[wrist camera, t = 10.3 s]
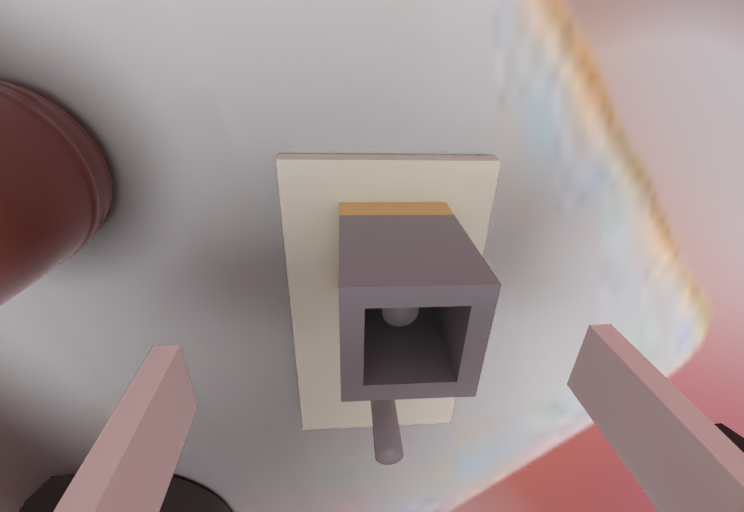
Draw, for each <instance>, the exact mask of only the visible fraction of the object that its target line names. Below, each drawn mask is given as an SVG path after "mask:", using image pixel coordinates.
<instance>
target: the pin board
mask: <svg viewBox="0 0 744 512" xmlns="http://www.w3.org/2000/svg"><path fill="white" fill-rule="evenodd" d="M500 166H501V160H500V159H498V158H497V157H495V156H494V155H398V154H279V155H278V156H277V158H276V168H277V178H278V188H279V198H280V208H281V218H282V228H283V238H284V248H285V258H286V268H287V277H288V287H289V297H290V307H291V317H292V327H293V337H294V347H295V357H296V367H297V377H298V387H299V397H300V407H301V417H302V427H303V430H314V429H335V428H356V427H373V436H374V448H375V459H376V461H377V462H379V463H381V464H385V465H390V464H395V463H397V462H399V461H400V460H401V459H402V458H403V450H402V444H401V437H400V430H399V425H419V424H440V423H451V418H452V413H453V408H454V403H455V398H456V397H447V398H423V399H399V400H376V401H352V402H341V379H340V333H339V202H446V203H447V205H448V206H449V208H450V209H451V211H452V212H453V214H454V215H455V217H456V218H457V220H458V221H459V223H460V224H461V225H462V227H463V228H464V230H465V231H466V233H467V234H468V236H469V237H470V239H471V240H472V242H473V243H474V245H475V246H476V248H477V249H478V251H479V252H480V254H481V255H482V257H483V253H484V248H485V243H486V238H487V233H488V228H489V222H490V217H491V212H492V207H493V202H494V197H495V192H496V186H497V181H498V176H499V171H500ZM381 309H382V315H383V318H384V320H385V321H386V322H387V323H388V324H390V325H392V326H405V325H408V324H410V323H412V322H413V321H414V320H415V319H416V317H417V316H418V312H419V309H418V307H410V308H381Z"/></svg>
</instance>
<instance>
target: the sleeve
mask: <svg viewBox="0 0 744 512" xmlns="http://www.w3.org/2000/svg"><path fill="white" fill-rule="evenodd" d="M500 287H501V284H500V282H499V281H498V279H497V278H496V276H495V275H494V273H493V272H492V270H491V269H490V267H489V266H488V264H487V263H486V261H485V260H484V258H483V257H482V255H481V254H480V252H479V251H478V249H477V248H476V246H475V245H474V243H473V242H472V240H471V239H470V237H469V236H468V234H467V233H466V231H465V230H464V228H463V227H462V225H461V224H460V223H459V221H458V220H457V218H456V217H455V215H454V214H453V212H452V211H451V209H450V208H449V206H448V205H447V203H446V202H339V333H340V379H341V402H352V401H376V400H399V399H423V398H447V397H470V396H475V395H476V391H477V386H478V382H479V378H480V373H481V369H482V365H483V360H484V356H485V352H486V347H487V343H488V339H489V334H490V330H491V326H492V321H493V317H494V313H495V308H496V304H497V300H498V295H499V291H500ZM410 307H418V309H419V312H418V316H417V317H416V319H415V320H414V321H413V322H412V323H410V324H408V325H405V326H392V325H390V324H388V323H387V322H386V321H385V320H384V318H383V315H382V309H381V308H410Z"/></svg>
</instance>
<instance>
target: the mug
mask: <svg viewBox="0 0 744 512" xmlns="http://www.w3.org/2000/svg"><path fill="white" fill-rule="evenodd" d="M111 200H112V182H111V176H110V173H109V169H108V166H107V164H106V161H105V159H104V157H103V155H102V153H101V151H100V150H99V148H98V146H97V145H96V143H95V142H94V140H93V139H92V138H91V136H90V135H89V134H88V133H87V131H86V130H85V129H84V128H83V127H82V126H81V125H80V124H79V123H78V122H77V121H76V120H75V119H74V118H73V117H72V116H70V115H69V114H68V113H67V112H65V111H64V110H63V109H62V108H60V107H59V106H57V105H56V104H54V103H53V102H51V101H49V100H48V99H46V98H44V97H42V96H40V95H39V94H37V93H34V92H32V91H30V90H28V89H25V88H23V87H20V86H18V85H15V84H12V83H9V82H5V81H1V80H0V306H1V305H3V304H4V303H5V302H7V301H8V300H10V299H11V298H12V297H14V296H15V295H17V294H18V293H20V292H21V291H23V290H24V289H26V288H27V287H29V286H30V285H32V284H33V283H34V282H36V281H37V280H39V279H40V278H42V277H43V276H44V275H46V274H47V273H48V272H50V271H51V270H52V269H54V268H55V267H56V266H57V265H59V264H60V263H61V262H63V261H64V260H65V259H67V258H69V257H71V256H72V255H74V254H75V253H77V252H78V251H79V250H80V249H81V248H82V247H83V246H84V245H85V244H86V243H87V241H88V240H89V239H90V238H91V237H92V236H93V235H94V234H95V233H96V232H97V231H98V230H99V229H100V227H101V226H102V224H103V223H104V221H105V217H106V215H107V213H108V211H109V208H110V205H111Z"/></svg>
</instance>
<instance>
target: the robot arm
mask: <svg viewBox="0 0 744 512" xmlns="http://www.w3.org/2000/svg"><path fill="white" fill-rule="evenodd" d="M567 385H568V386H569V388H570V389H571V390H572V392H573V393H574V395H575V396H576V397H577V399H578V400H579V402H580V403H581V404H582V406H583V407H584V409H585V410H586V411H587V413H588V414H589V416H590V417H591V418H592V420H593V421H594V423H595V424H596V425H597V427H598V428H599V429H600V431H601V432H602V434H603V435H604V436H605V438H606V439H607V441H608V442H609V444H610V445H611V446H612V448H613V449H614V450H615V452H616V453H617V455H618V456H619V457H620V459H621V460H622V462H623V463H624V464H625V466H626V467H627V469H628V470H629V471H630V473H631V474H632V476H633V477H634V478H635V480H636V481H637V483H638V484H639V485H640V487H641V488H642V490H643V491H644V492H645V494H646V495H647V497H648V498H649V499H650V501H651V502H652V503H653V505H654V506H655V508H656V509H657V510H658V512H744V438H743V437H741V436H740V435H738V434H737V433H735V432H734V431H732V430H731V429H729V428H728V427H726V426H724V425H723V424H721V423H720V424H713V423H712V422H711V421H710V420H709V419H708V418H707V417H706V416H705V415H704V414H703V413H702V412H701V411H700V410H699V409H698V408H697V407H696V406H695V405H694V404H693V403H692V402H691V401H689V399H688V398H687V397H685V396H684V395H683V394H682V393H681V392H680V391H679V390H678V389H677V388H676V387H675V386H674V385H673V384H672V383H671V382H670V381H669V380H668V379H667V378H666V377H665V376H664V375H663V374H662V373H661V372H660V371H659V370H658V369H657V368H655V367H654V366H653V365H652V364H651V363H650V362H649V361H648V360H647V359H646V358H645V357H644V356H643V355H642V354H641V353H640V352H639V351H638V350H637V349H636V348H635V347H634V346H633V345H632V344H631V343H630V342H629V341H628V340H627V339H625V338H624V337H623V336H622V335H621V334H620V333H619V332H618V331H617V330H616V329H615V328H614V327H613V326H612V325H611V324H605V325H589V328H588V330H587V333H586V336H585V338H584V341H583V344H582V346H581V349H580V351H579V354H578V357H577V359H576V362H575V365H574V367H573V370H572V373H571V375H570V378H569V381H568V383H567ZM197 409H198V406H197V403H196V399H195V396H194V392H193V389H192V385H191V382H190V378H189V375H188V371H187V368H186V364H185V361H184V357H183V354H182V350H181V347H180V345H159V346H153V347H152V348H151V350H150V352H149V353H148V355H147V357H146V358H145V360H144V362H143V363H142V365H141V367H140V368H139V370H138V372H137V373H136V375H135V377H134V378H133V380H132V382H131V383H130V385H129V387H128V388H127V390H126V392H125V393H124V395H123V397H122V398H121V400H120V402H119V403H118V405H117V407H116V408H115V410H114V412H113V413H112V415H111V416H110V418H109V420H108V421H107V423H106V425H105V426H104V428H103V430H102V431H101V433H100V435H99V436H98V438H97V440H96V441H95V443H94V445H93V446H92V448H91V450H90V451H89V453H88V455H87V456H86V458H85V460H84V461H83V463H82V465H81V466H80V468H79V470H78V471H77V473H76V475H64V476H52V477H51V478H50V479H48V480H47V481H46V482H45V483H44V484H43V485H42V486H41V487H40V488H39V489H38V490H37V491H36V492H35V493H34V494H33V495H32V496H30V497H29V498H28V499H27V500H26V501H25V503H24V504H23V506H22V507H21V509H20V510H19V512H231V511H230V510H229V508H228V507H227V506H226V505H225V504H224V503H223V502H222V501H221V500H220V499H219V498H218V497H216V496H215V495H214V494H212V493H211V492H209V491H207V490H206V489H204V488H202V487H200V486H198V485H196V484H193V483H191V482H188V481H185V480H183V479H180V478H176V477H173V473H174V471H175V468H176V465H177V463H178V460H179V457H180V455H181V452H182V449H183V446H184V444H185V441H186V438H187V436H188V433H189V430H190V428H191V425H192V422H193V419H194V417H195V414H196V411H197Z"/></svg>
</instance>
